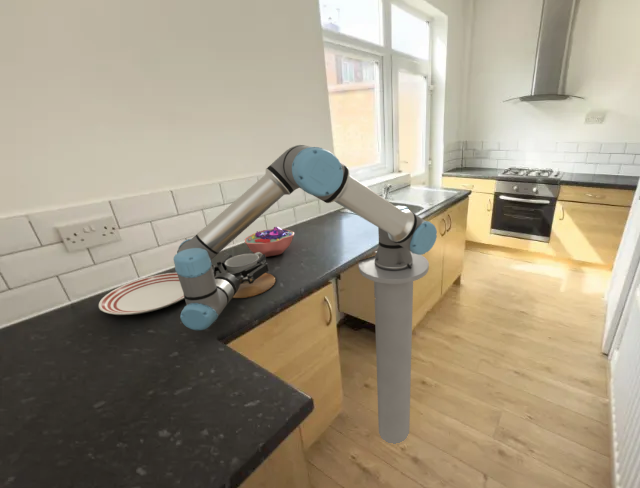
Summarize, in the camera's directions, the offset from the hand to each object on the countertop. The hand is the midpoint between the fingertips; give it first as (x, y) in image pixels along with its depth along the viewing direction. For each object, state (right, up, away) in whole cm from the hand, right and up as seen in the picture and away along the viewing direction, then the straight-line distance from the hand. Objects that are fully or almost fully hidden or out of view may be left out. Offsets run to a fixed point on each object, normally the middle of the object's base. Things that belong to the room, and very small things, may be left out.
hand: (248, 258), depth 111 cm
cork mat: (0, -9, 0) cm, 9 cm away
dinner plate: (-27, -13, -8) cm, 31 cm away
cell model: (0, +2, +25) cm, 25 cm away
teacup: (+1, -7, -1) cm, 7 cm away
